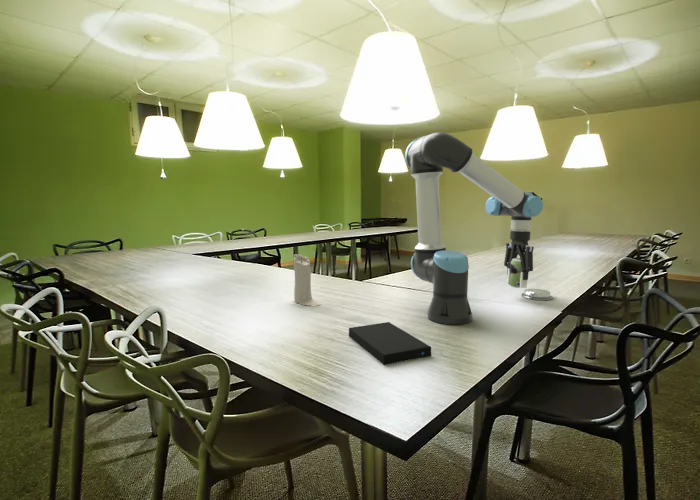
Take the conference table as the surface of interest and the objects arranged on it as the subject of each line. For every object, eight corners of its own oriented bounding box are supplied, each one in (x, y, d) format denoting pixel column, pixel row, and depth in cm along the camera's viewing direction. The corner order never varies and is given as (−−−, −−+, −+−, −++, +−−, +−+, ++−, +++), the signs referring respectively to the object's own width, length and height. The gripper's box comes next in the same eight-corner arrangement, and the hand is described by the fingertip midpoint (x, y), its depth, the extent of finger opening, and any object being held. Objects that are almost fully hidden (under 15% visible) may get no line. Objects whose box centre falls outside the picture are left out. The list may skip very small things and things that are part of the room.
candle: (310, 307, 150) (309, 257, 148) (291, 300, 161) (289, 254, 158) (324, 304, 155) (324, 255, 153) (305, 298, 165) (304, 252, 163)
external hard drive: (389, 330, 123) (389, 321, 123) (431, 357, 102) (431, 346, 102) (348, 337, 118) (348, 327, 117) (384, 366, 97) (384, 355, 96)
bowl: (535, 301, 156) (535, 295, 156) (515, 294, 168) (515, 289, 167) (559, 299, 159) (559, 293, 159) (538, 292, 171) (538, 287, 171)
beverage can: (521, 285, 162) (523, 257, 160) (527, 289, 154) (529, 259, 153) (505, 284, 162) (507, 257, 161) (511, 288, 155) (513, 259, 154)
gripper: (546, 232, 147) (541, 290, 150) (512, 229, 166) (508, 280, 169) (530, 232, 145) (525, 291, 148) (497, 228, 164) (493, 281, 167)
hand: (516, 285), depth 158 cm, fingers closed on beverage can, 7 cm apart
